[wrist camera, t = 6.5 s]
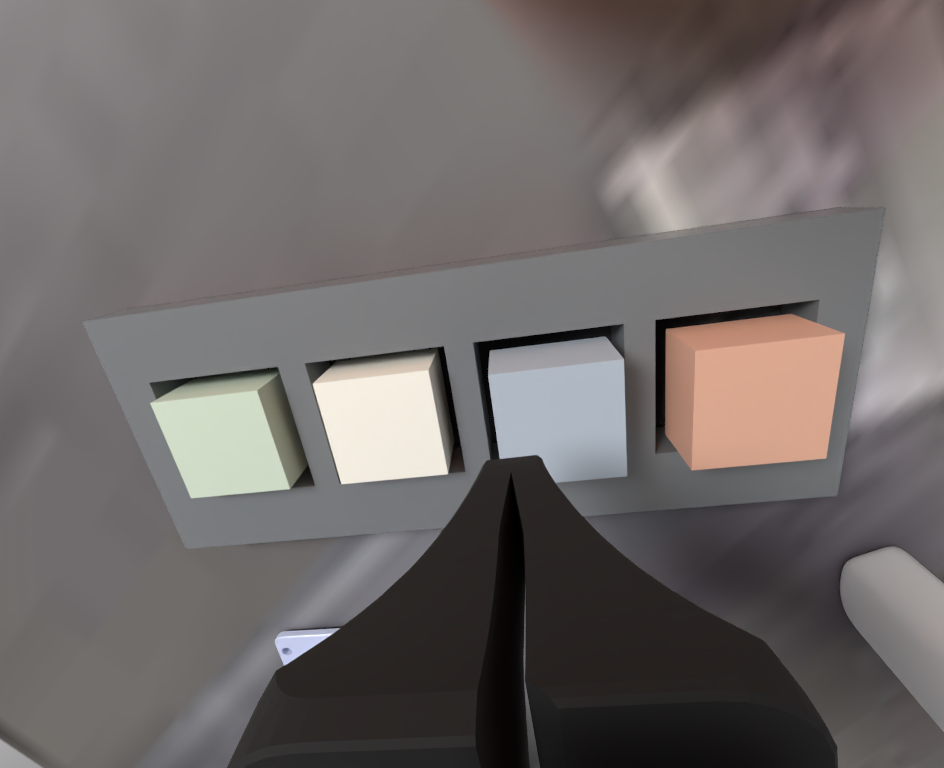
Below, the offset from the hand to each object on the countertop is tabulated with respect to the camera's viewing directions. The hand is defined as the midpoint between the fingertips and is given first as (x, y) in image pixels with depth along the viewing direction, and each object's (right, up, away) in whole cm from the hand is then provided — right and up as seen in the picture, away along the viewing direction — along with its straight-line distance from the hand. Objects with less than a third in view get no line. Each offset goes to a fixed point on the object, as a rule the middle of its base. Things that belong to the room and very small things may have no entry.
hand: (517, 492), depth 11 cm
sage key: (-10, +1, +8) cm, 13 cm away
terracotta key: (+8, +3, +5) cm, 10 cm away
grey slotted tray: (-1, +2, +7) cm, 8 cm away
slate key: (+2, +2, +6) cm, 6 cm away
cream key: (-4, +2, +7) cm, 8 cm away
